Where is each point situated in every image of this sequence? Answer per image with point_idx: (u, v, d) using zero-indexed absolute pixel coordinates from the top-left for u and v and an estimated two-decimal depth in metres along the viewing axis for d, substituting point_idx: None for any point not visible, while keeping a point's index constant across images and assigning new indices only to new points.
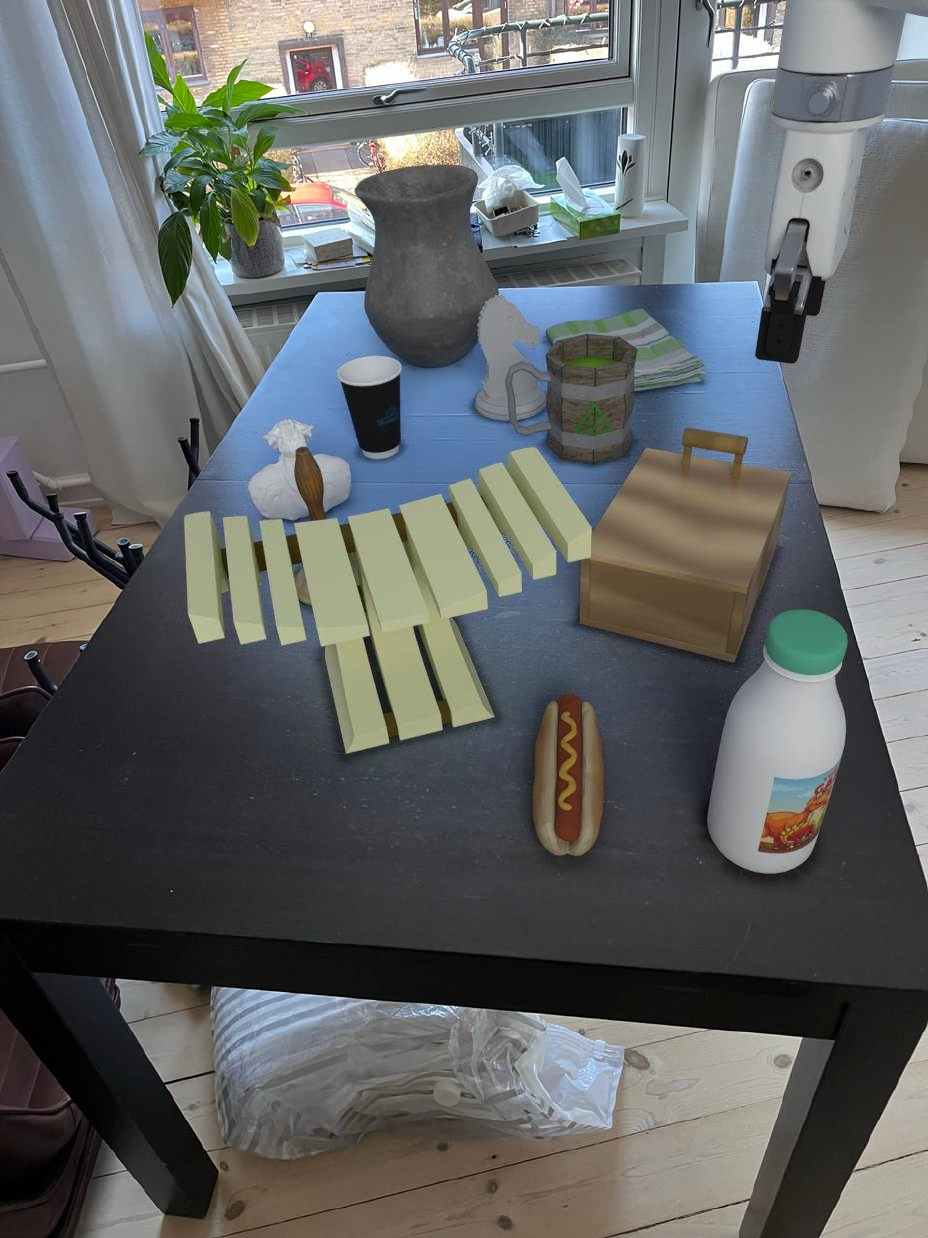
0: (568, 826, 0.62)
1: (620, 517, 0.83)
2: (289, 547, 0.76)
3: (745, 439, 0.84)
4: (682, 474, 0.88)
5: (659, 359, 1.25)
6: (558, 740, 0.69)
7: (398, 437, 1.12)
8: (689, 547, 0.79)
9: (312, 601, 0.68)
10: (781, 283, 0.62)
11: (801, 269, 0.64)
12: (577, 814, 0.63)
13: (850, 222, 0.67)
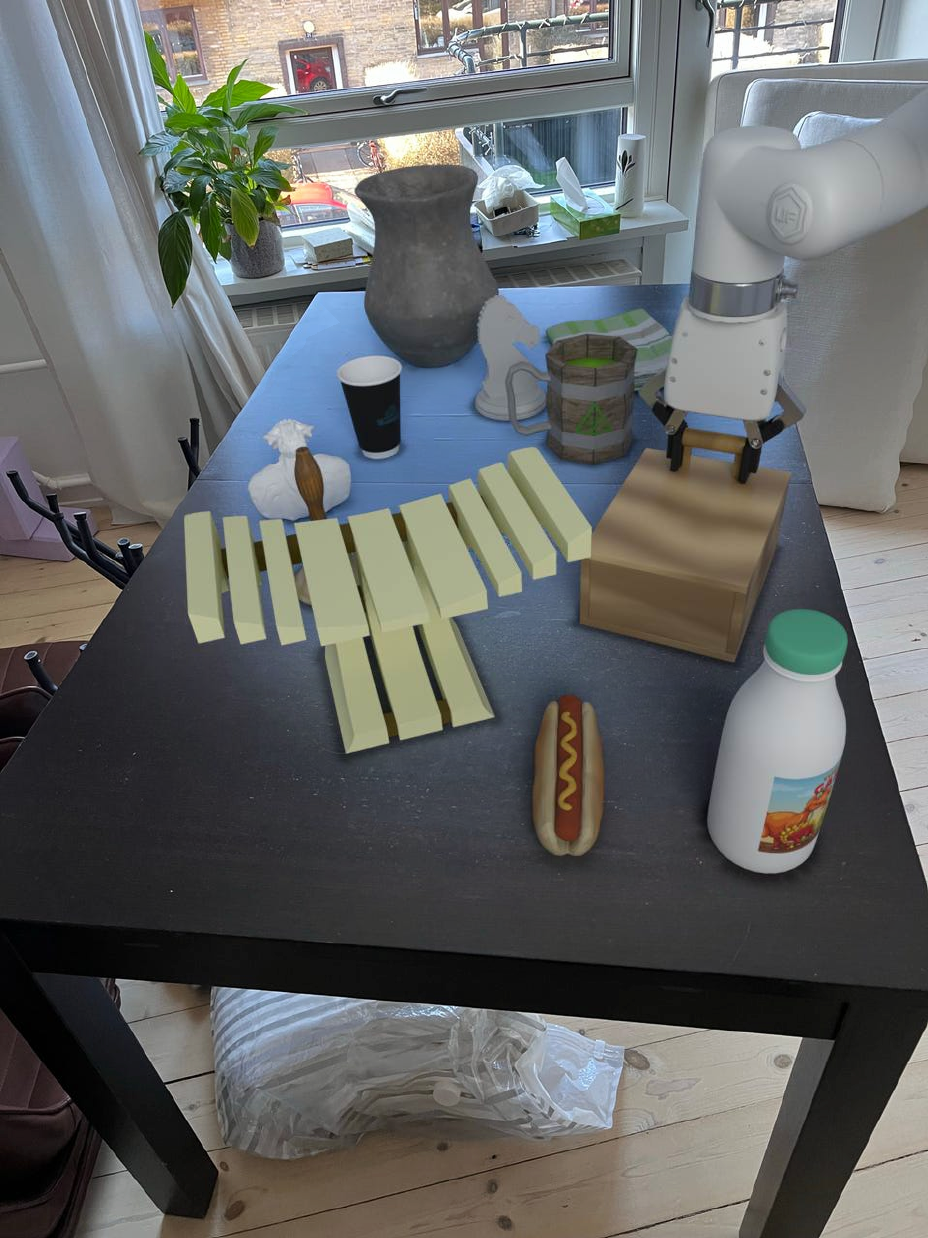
0: (568, 826, 0.62)
1: (620, 517, 0.83)
2: (289, 547, 0.76)
3: (745, 439, 0.84)
4: (682, 474, 0.88)
5: (659, 359, 1.25)
6: (558, 740, 0.69)
7: (398, 437, 1.12)
8: (689, 547, 0.79)
9: (312, 601, 0.68)
10: None
11: None
12: (577, 814, 0.63)
13: None
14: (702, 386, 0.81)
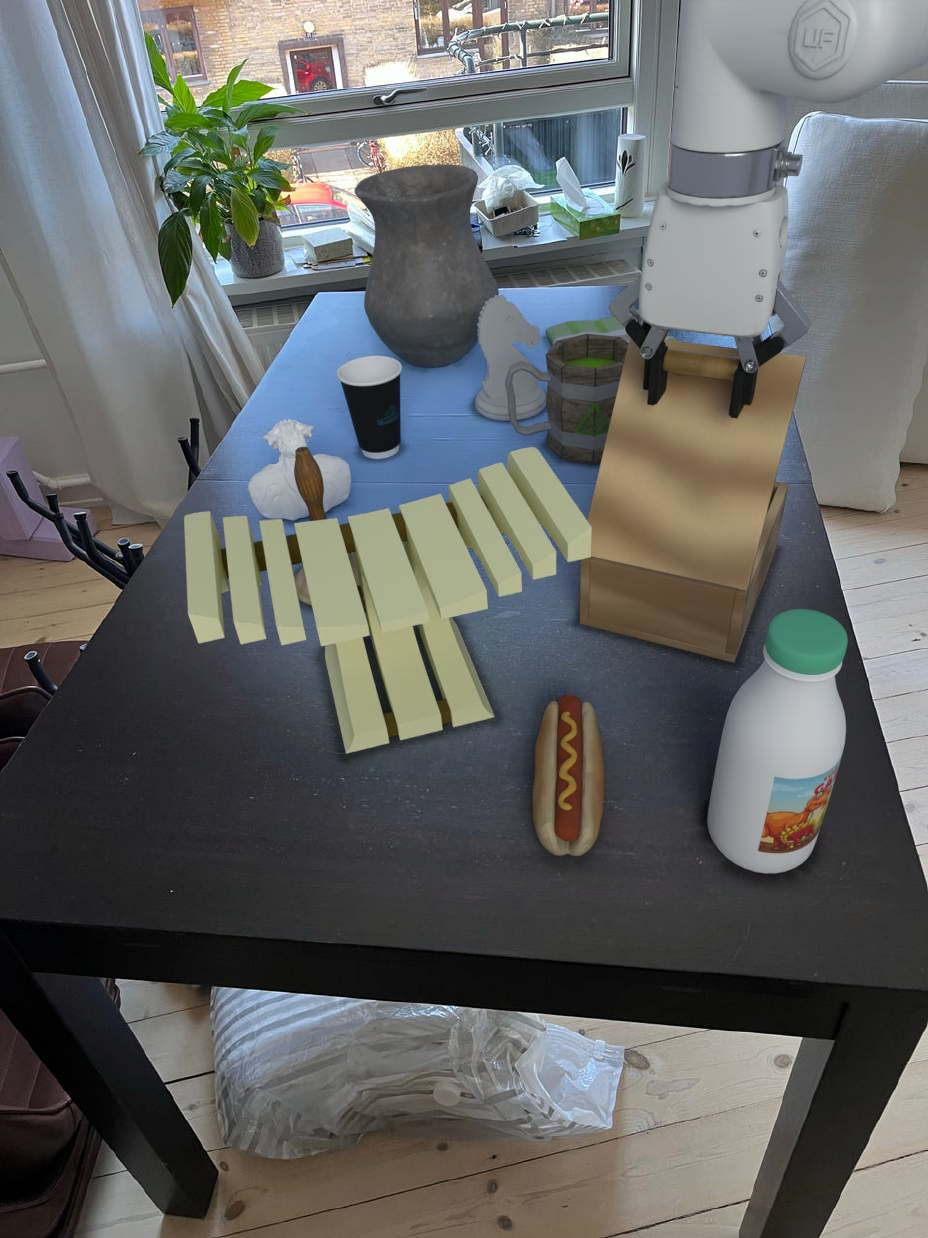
0: (568, 826, 0.62)
1: (612, 488, 0.78)
2: (289, 547, 0.76)
3: (736, 369, 0.70)
4: (675, 387, 0.76)
5: None
6: (558, 740, 0.69)
7: (398, 437, 1.12)
8: (687, 531, 0.76)
9: (312, 601, 0.68)
10: None
11: None
12: (577, 814, 0.63)
13: None
14: (684, 294, 0.66)
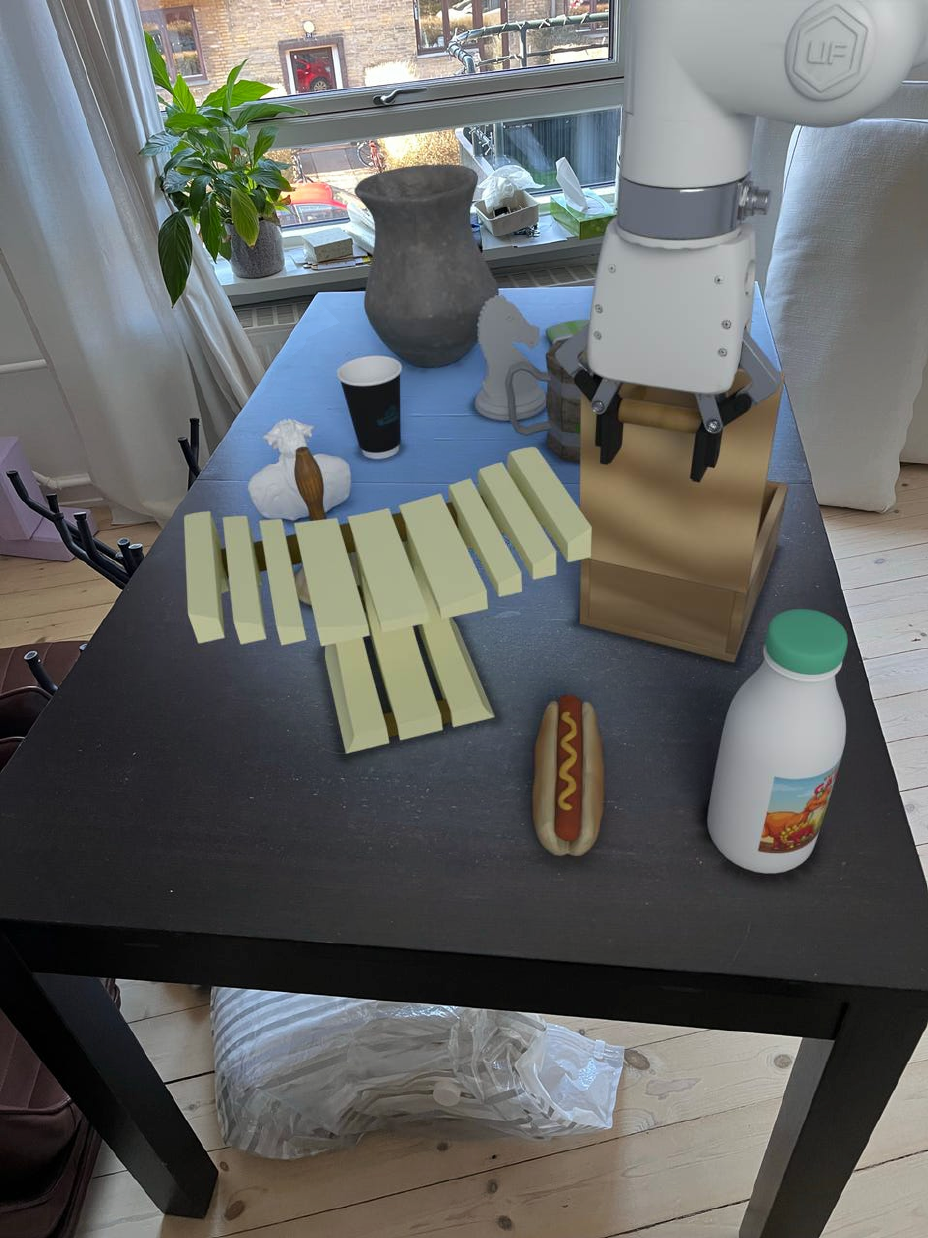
0: (568, 826, 0.62)
1: (597, 501, 0.75)
2: (289, 547, 0.76)
3: None
4: None
5: None
6: (558, 740, 0.69)
7: (398, 437, 1.12)
8: (679, 542, 0.74)
9: (312, 601, 0.68)
10: None
11: None
12: (577, 814, 0.63)
13: None
14: (638, 345, 0.58)
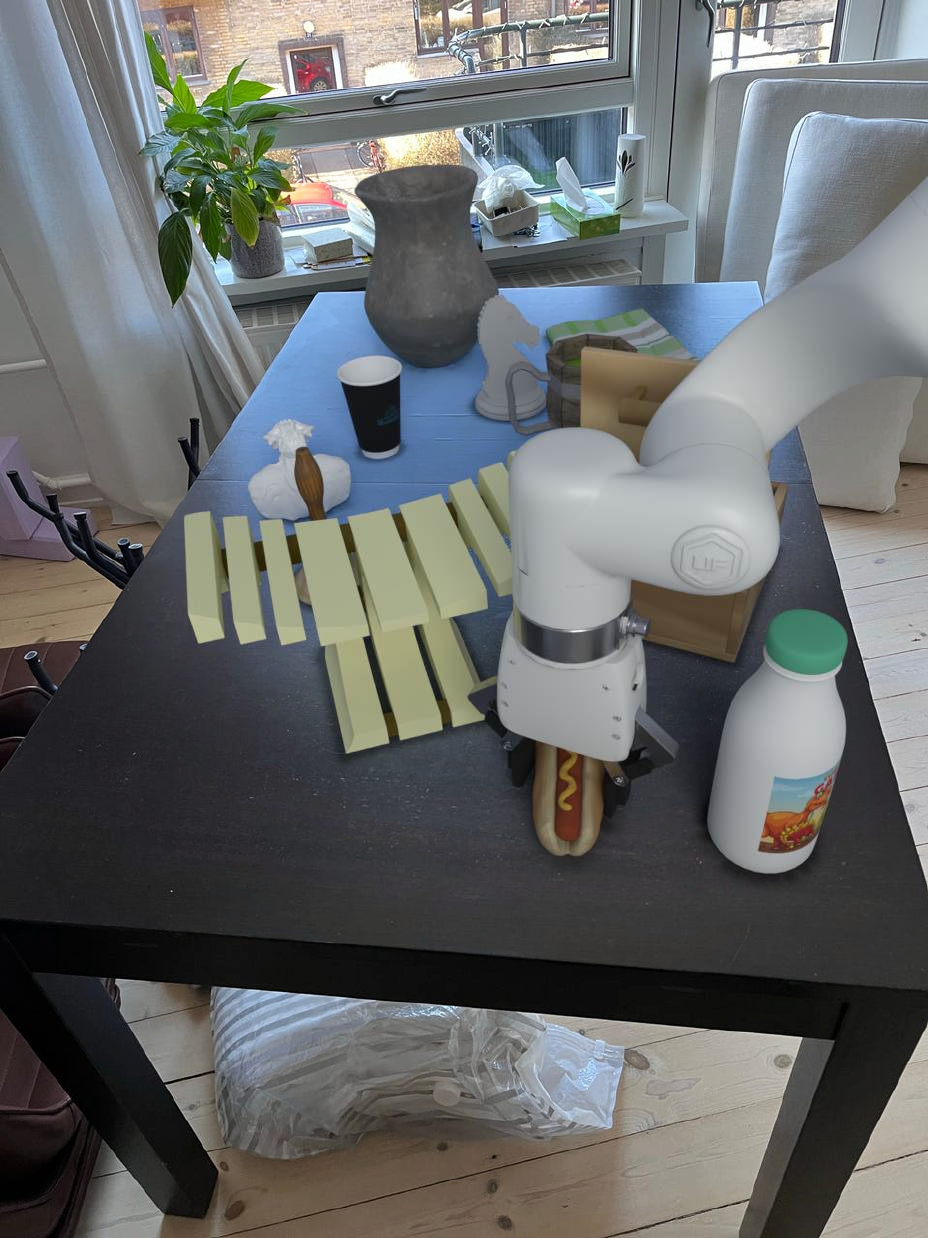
0: (568, 826, 0.62)
1: None
2: (289, 547, 0.76)
3: None
4: None
5: None
6: None
7: (398, 437, 1.12)
8: None
9: (312, 601, 0.68)
10: None
11: None
12: (577, 814, 0.63)
13: None
14: (540, 718, 0.62)
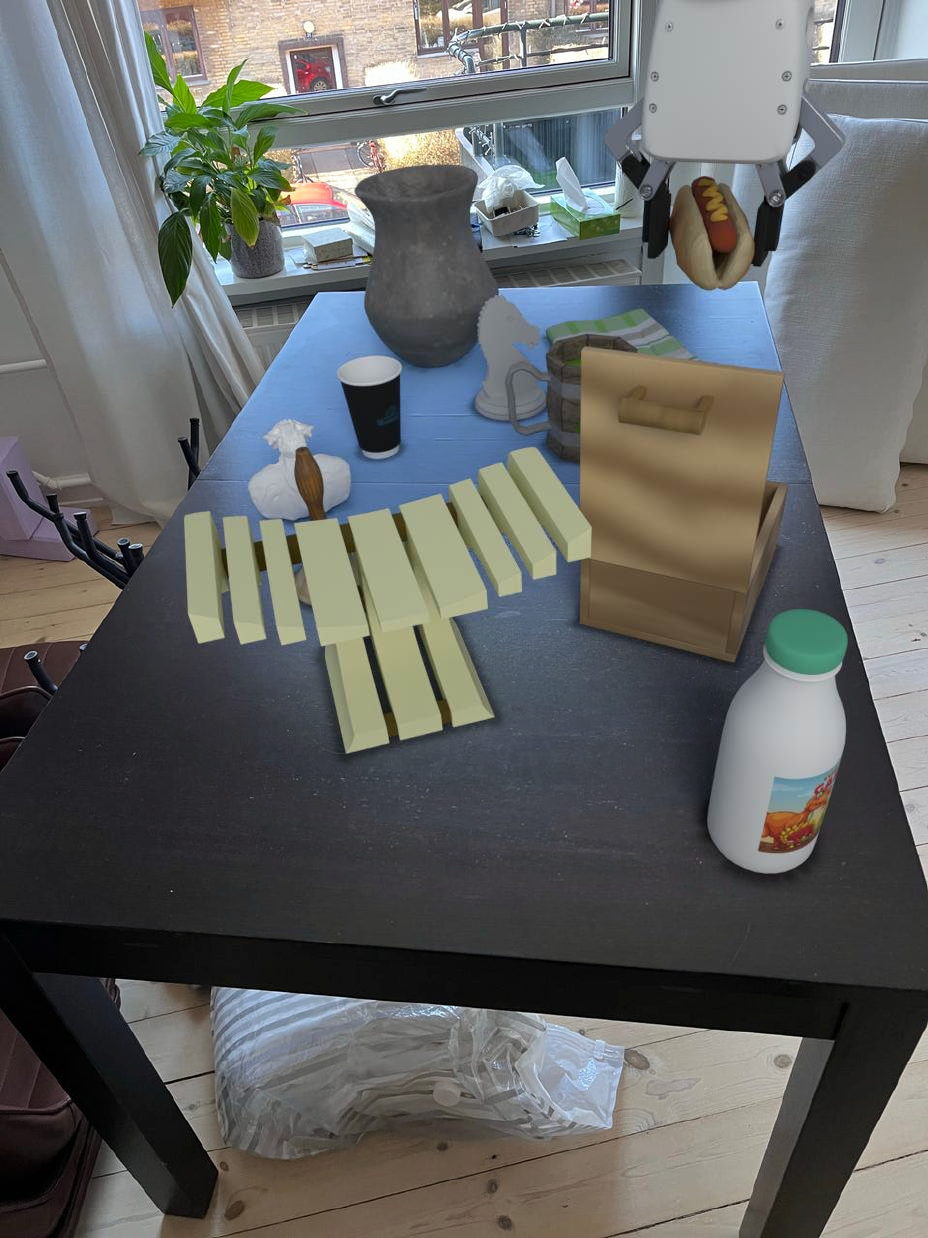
0: (726, 228, 0.57)
1: (597, 501, 0.75)
2: (289, 547, 0.76)
3: (698, 430, 0.62)
4: None
5: None
6: (698, 199, 0.64)
7: (398, 437, 1.12)
8: (679, 542, 0.74)
9: (312, 601, 0.68)
10: None
11: None
12: (733, 225, 0.58)
13: None
14: (694, 112, 0.57)
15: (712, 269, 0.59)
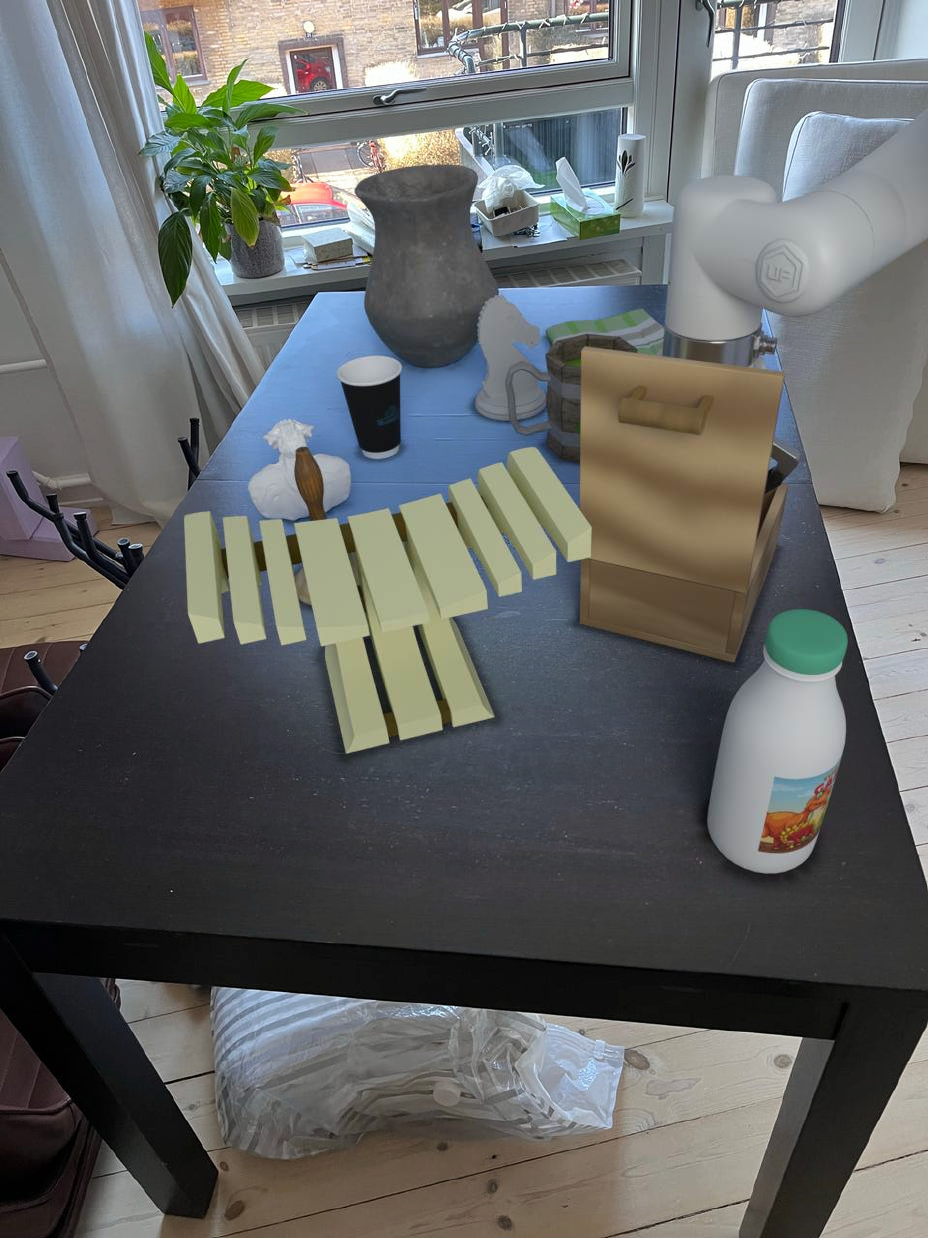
0: None
1: (597, 501, 0.75)
2: (289, 547, 0.76)
3: (698, 430, 0.62)
4: None
5: None
6: None
7: (398, 437, 1.12)
8: (679, 542, 0.74)
9: (312, 601, 0.68)
10: None
11: None
12: None
13: None
14: None
15: None
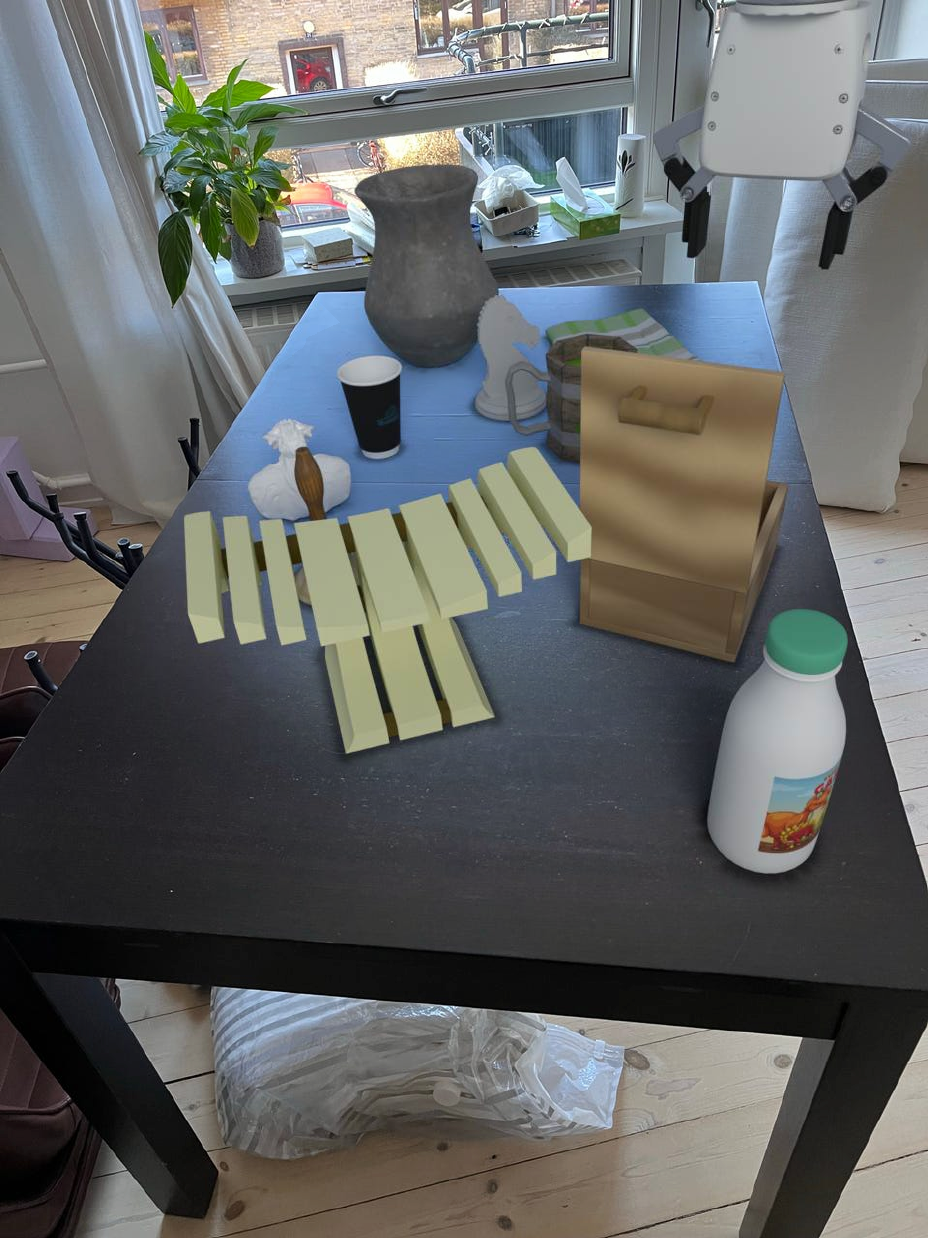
0: None
1: (597, 501, 0.75)
2: (289, 547, 0.76)
3: (698, 430, 0.62)
4: None
5: None
6: None
7: (398, 437, 1.12)
8: (679, 542, 0.74)
9: (312, 601, 0.68)
10: None
11: None
12: None
13: None
14: (752, 130, 0.60)
15: None
